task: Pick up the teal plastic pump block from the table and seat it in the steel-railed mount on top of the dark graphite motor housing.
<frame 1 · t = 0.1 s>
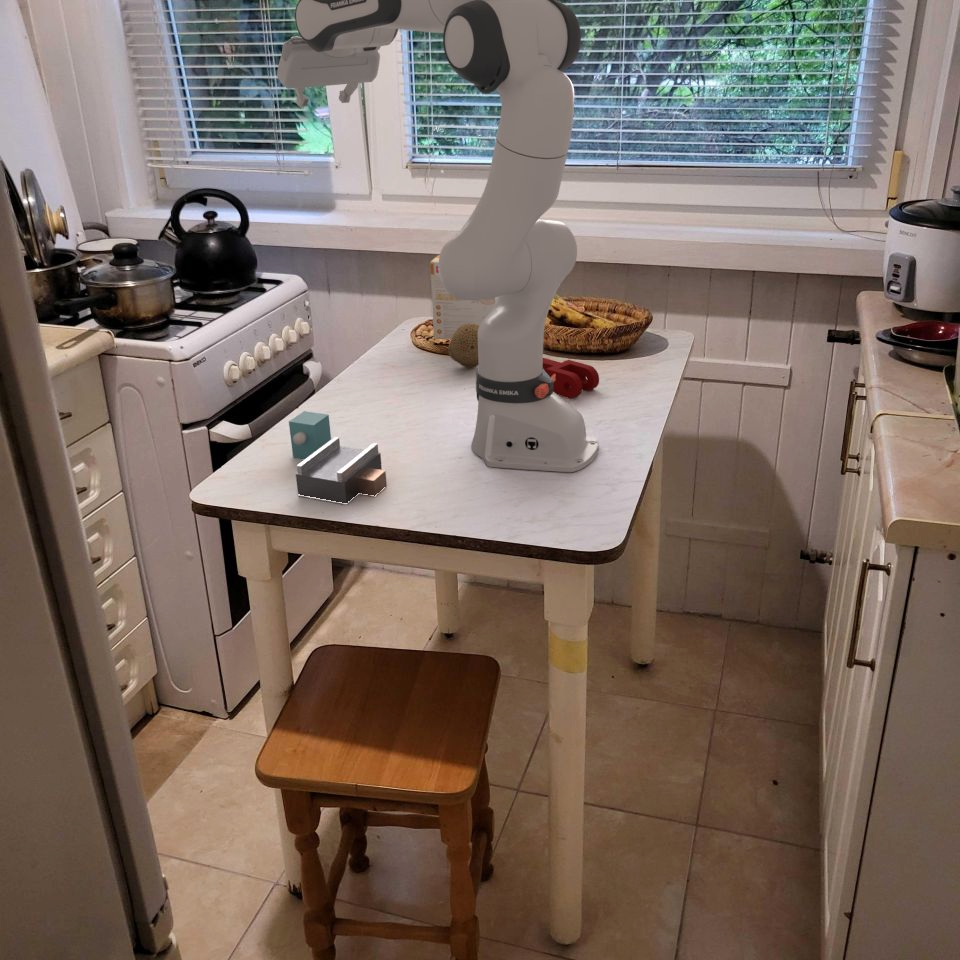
hand: (322, 103, 189), 54 cm above the table, tool tilted 30°, fingers open, 8 cm apart
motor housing: (341, 484, 162), on the table
pump block: (312, 454, 173), on the table
mechanical linkage: (557, 388, 200), on the table
coffeecake box: (468, 342, 228), on the table
natural sponge: (471, 369, 211), on the table
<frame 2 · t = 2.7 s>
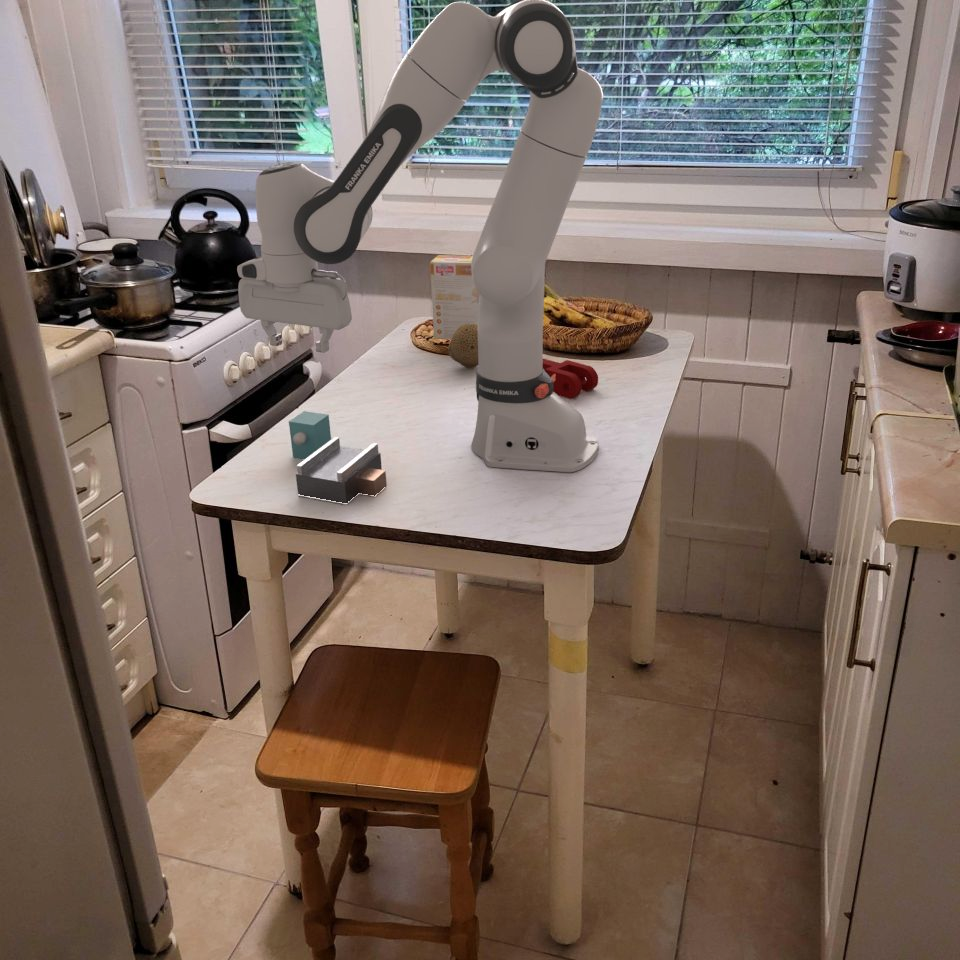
hand: (299, 348, 165), 19 cm above the table, tool pointing down, fingers open, 8 cm apart
nothing on the table moved.
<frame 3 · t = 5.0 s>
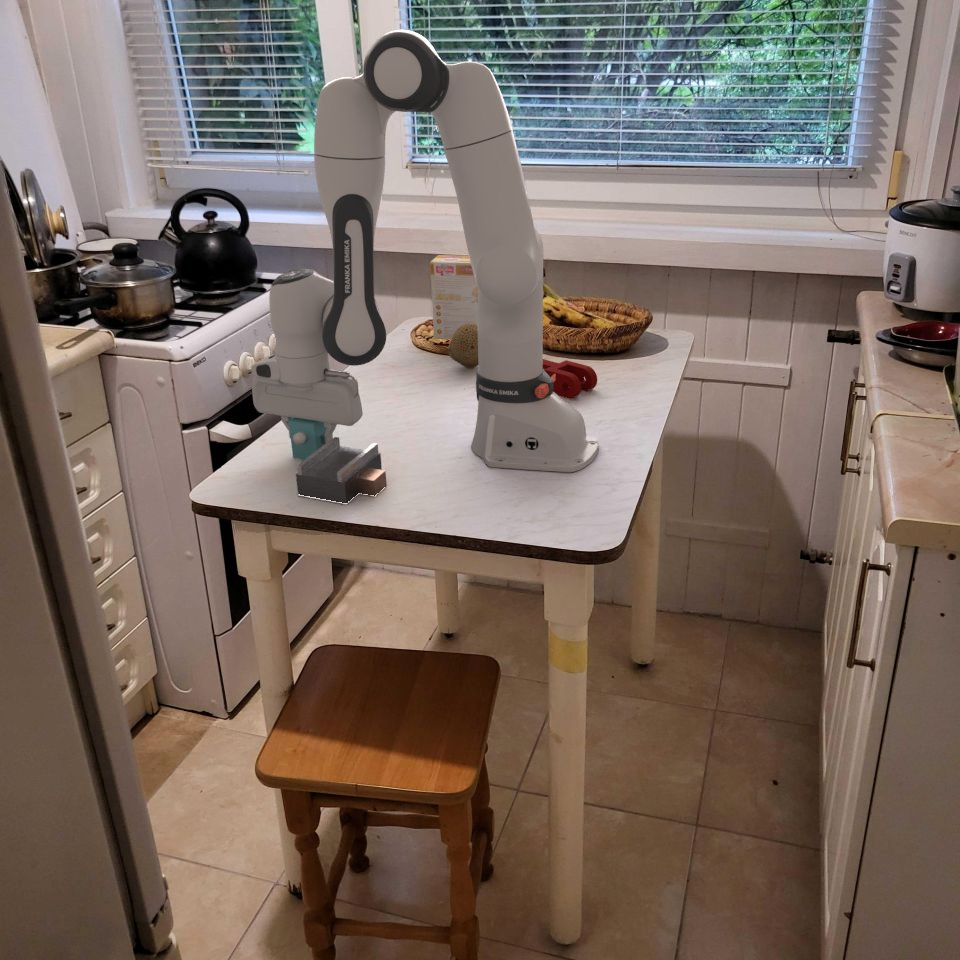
hand: (311, 440, 172), 3 cm above the table, tool pointing down, fingers closed on pump block, 5 cm apart
pump block: (312, 454, 173), on the table, touching gripper
everything else where it was.
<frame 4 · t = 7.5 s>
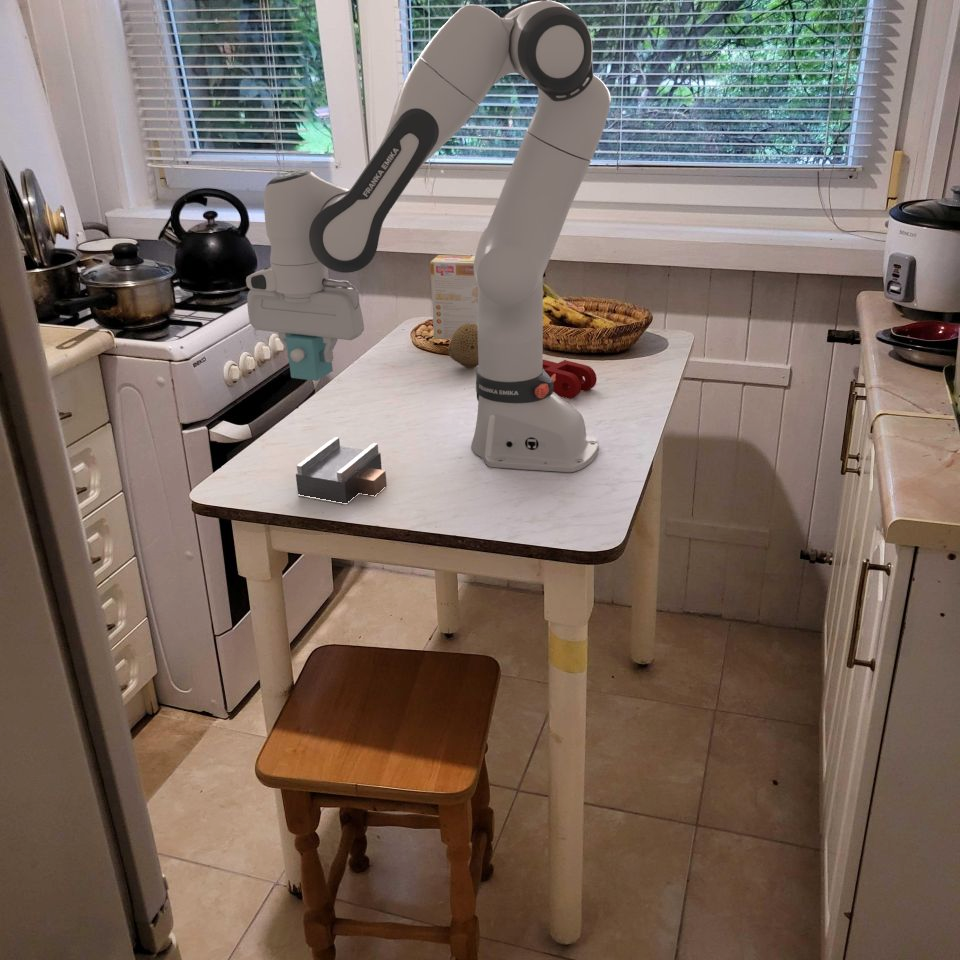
hand: (310, 359, 162), 19 cm above the table, tool pointing down, fingers closed on pump block, 5 cm apart
pump block: (312, 374, 163), point 16 cm above the table, touching gripper
everything else where it was.
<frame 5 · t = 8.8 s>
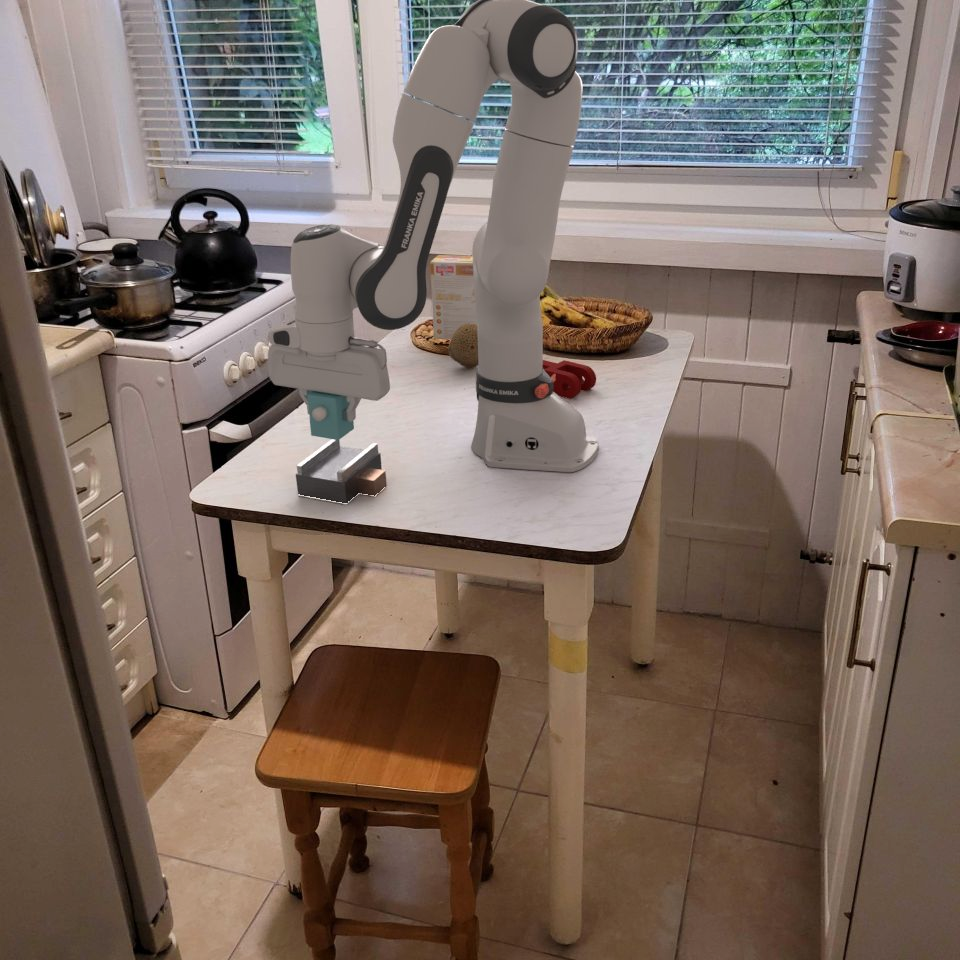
hand: (331, 417, 156), 12 cm above the table, tool pointing down, fingers closed on pump block, 5 cm apart
pump block: (332, 432, 157), point 10 cm above the table, touching gripper
everything else where it was.
when the fingers open (8 cm above the table, at t = 10.0 s): pump block drops 1 cm, resting on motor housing.
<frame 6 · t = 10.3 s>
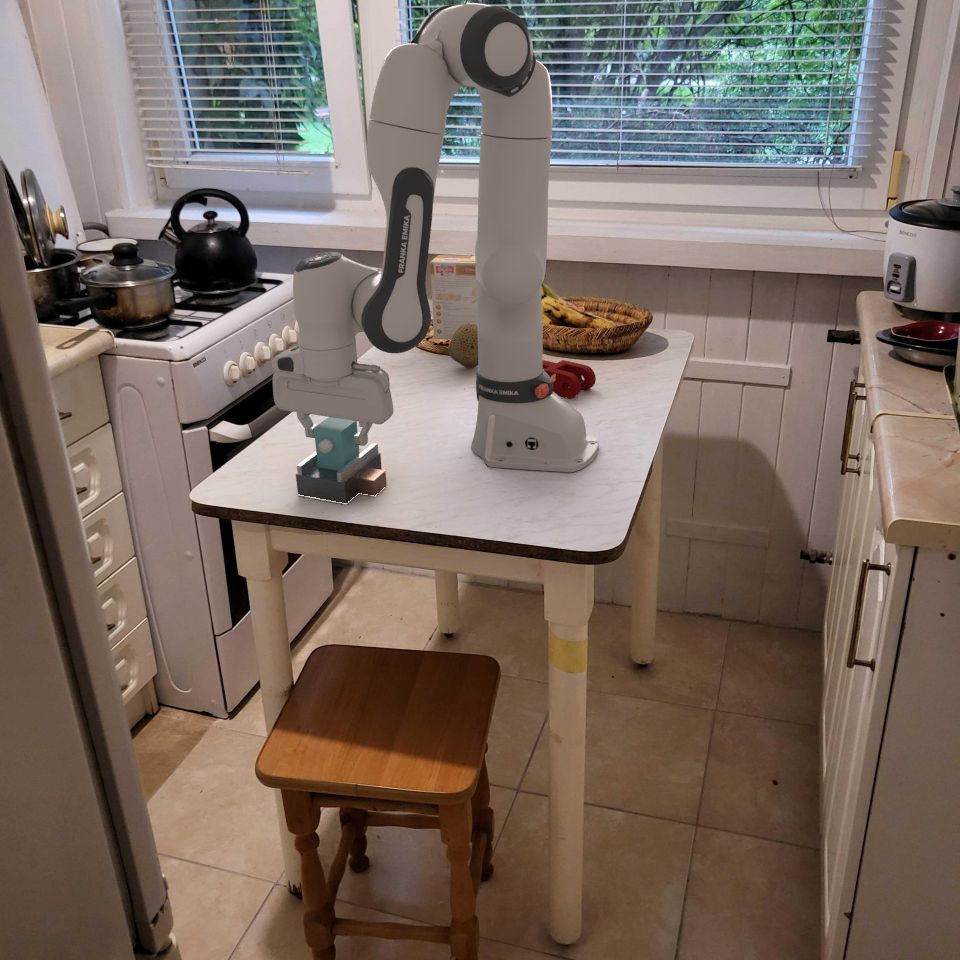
hand: (336, 440, 158), 8 cm above the table, tool pointing down, fingers open, 8 cm apart
pump block: (339, 463, 160), point 4 cm above the table, touching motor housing
everything else where it was.
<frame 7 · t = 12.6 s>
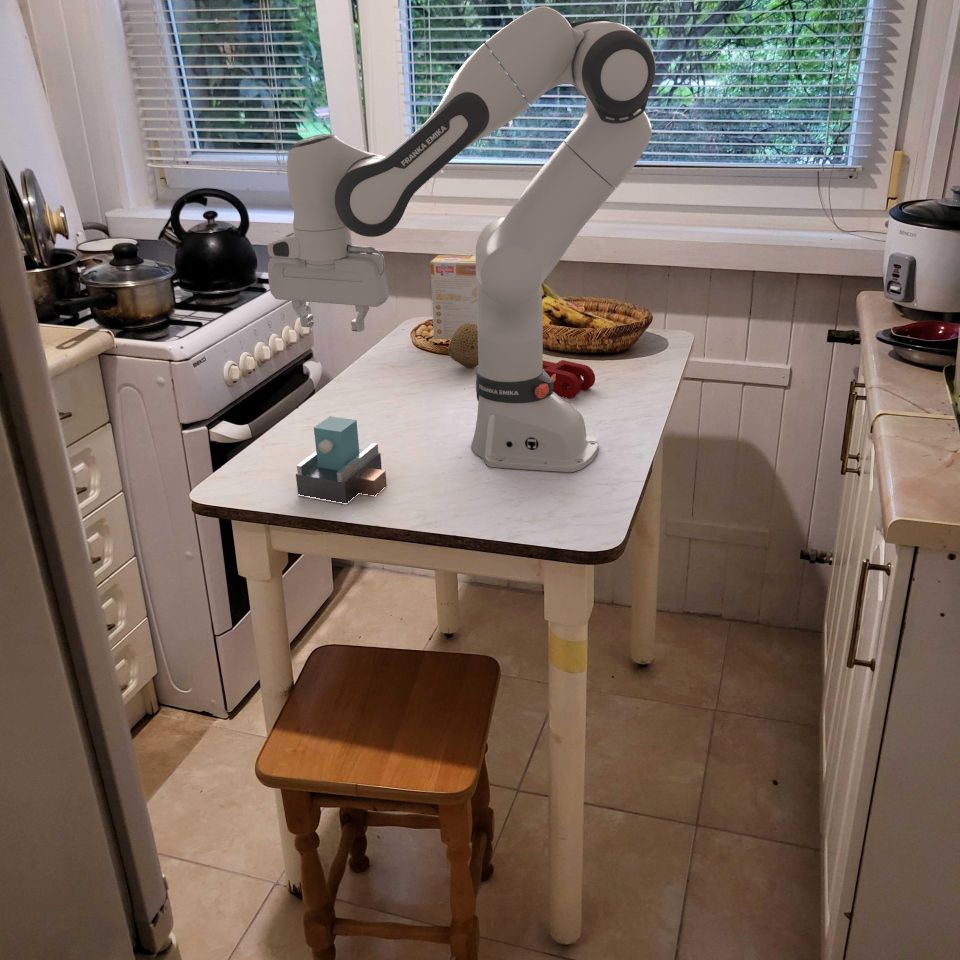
hand: (332, 328, 160), 24 cm above the table, tool pointing down, fingers open, 8 cm apart
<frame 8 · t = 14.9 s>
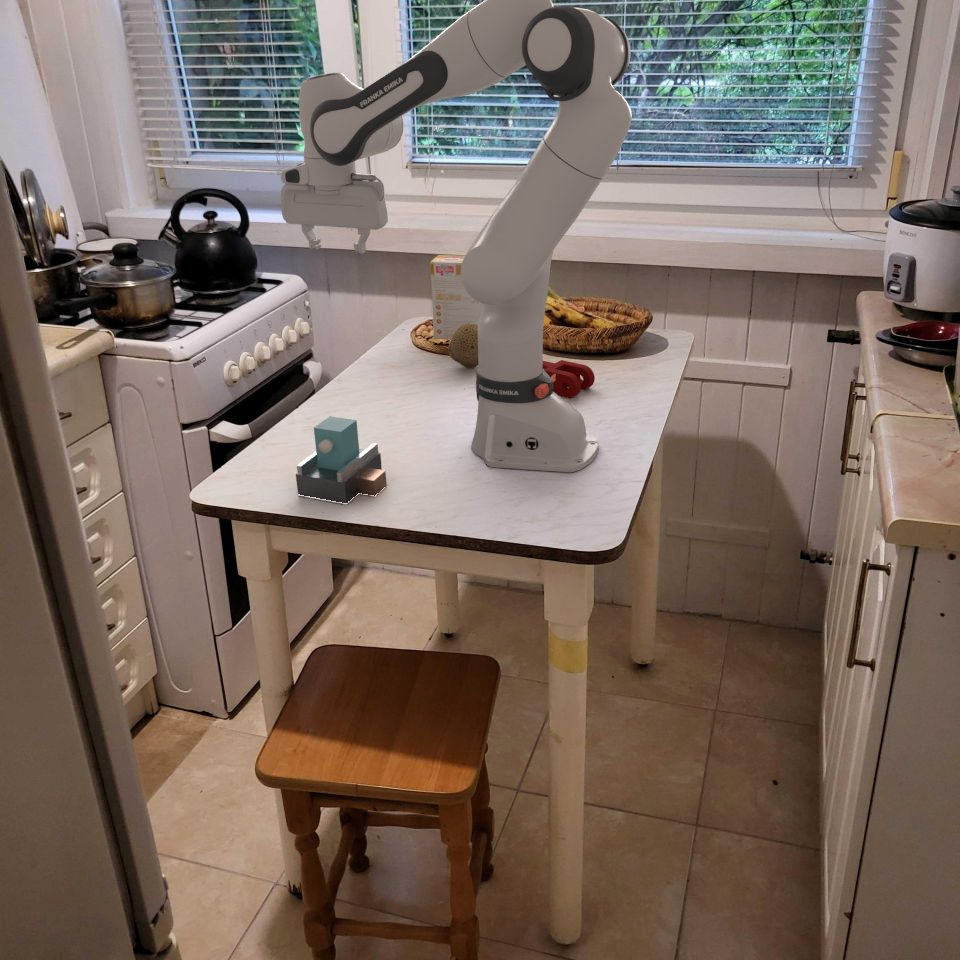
hand: (337, 250, 178), 31 cm above the table, tool pointing down, fingers open, 8 cm apart
at the end: pump block 0.1 cm off-centre on the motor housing, point 4.0 cm above the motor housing's base; pump block tilted 0°; pump block touching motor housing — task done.
